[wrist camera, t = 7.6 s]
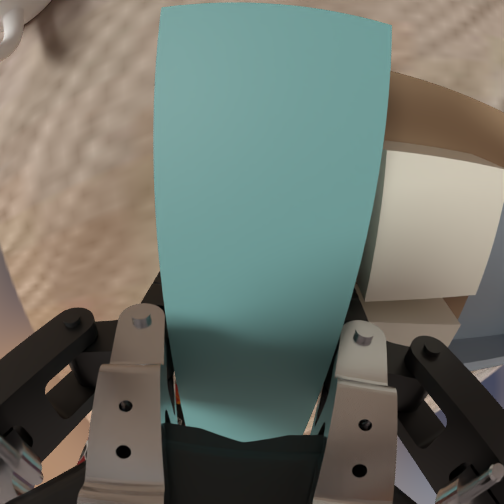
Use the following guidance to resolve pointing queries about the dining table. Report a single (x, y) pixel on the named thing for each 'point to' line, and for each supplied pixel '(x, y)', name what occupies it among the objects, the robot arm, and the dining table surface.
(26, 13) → the cup
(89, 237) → the dining table surface
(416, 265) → the tile
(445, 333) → the tile
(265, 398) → the teal rectangular block
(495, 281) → the tray
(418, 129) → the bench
